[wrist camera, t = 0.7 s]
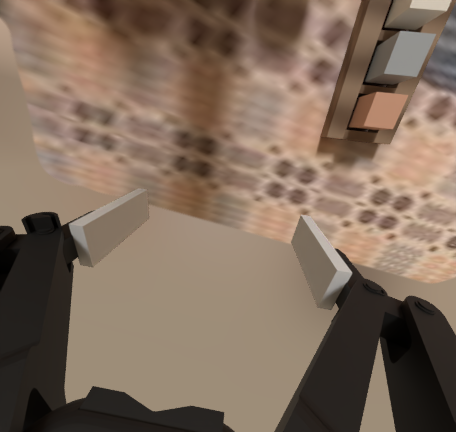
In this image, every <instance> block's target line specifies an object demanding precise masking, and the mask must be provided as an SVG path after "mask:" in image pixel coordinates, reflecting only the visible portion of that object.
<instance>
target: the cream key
mask: <svg viewBox="0 0 456 432" xmlns="http://www.w3.org/2000/svg"><path fill="white" fill-rule="evenodd" d="M451 1H452V0H394V1H393V3H392V6H391V9H390V12H389V15H388V17H387V20H386V23H385V26H384V28H395V29H406V30H417V29H418V28H420V27H421V26H423V25H425V24H426V23H428V22H430V21H431V20H433V19H434V18H436V17H438V16H439V15H441V14H443V13H444V12H446V11H447V9H448V7H449V5H450V3H451Z"/></svg>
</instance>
